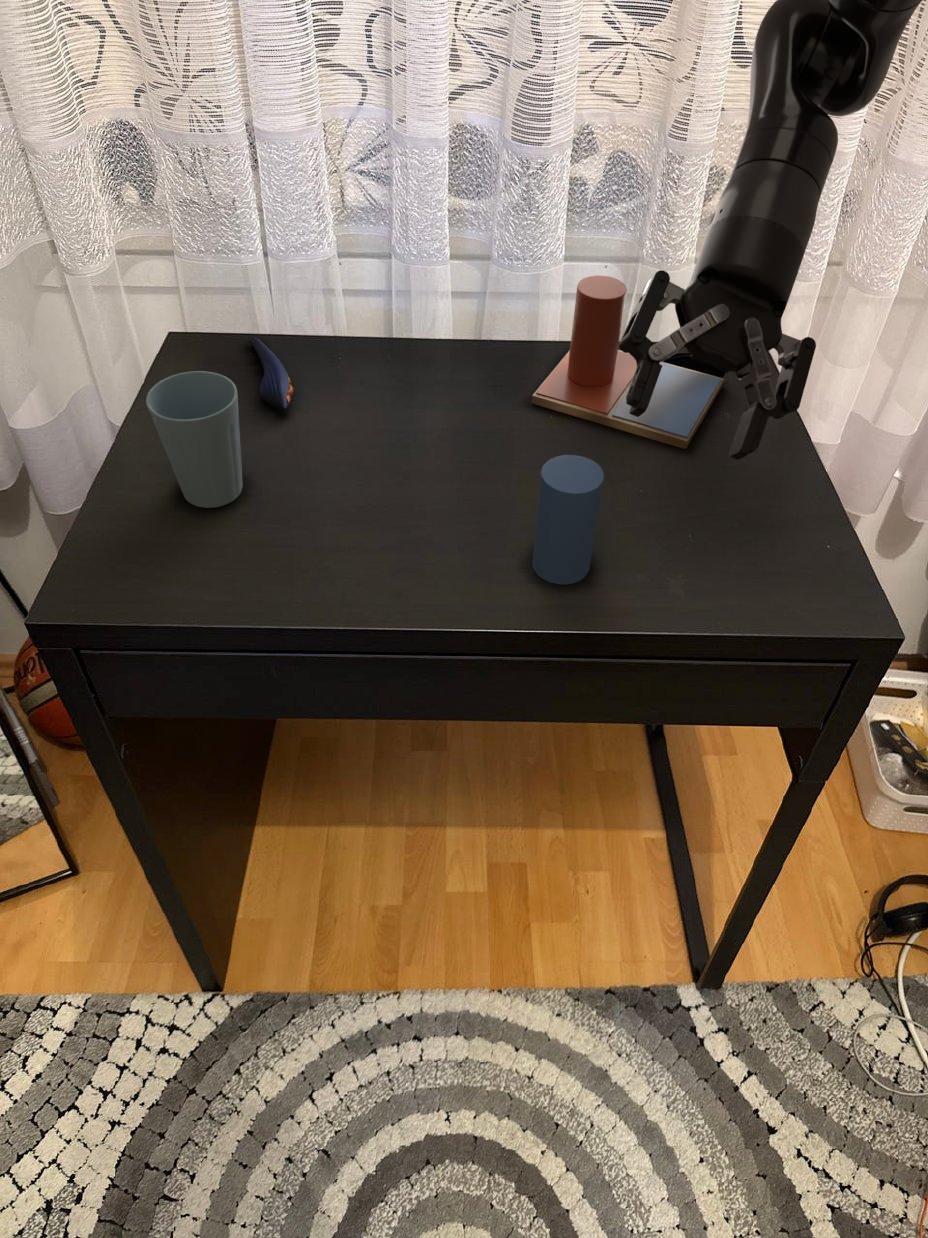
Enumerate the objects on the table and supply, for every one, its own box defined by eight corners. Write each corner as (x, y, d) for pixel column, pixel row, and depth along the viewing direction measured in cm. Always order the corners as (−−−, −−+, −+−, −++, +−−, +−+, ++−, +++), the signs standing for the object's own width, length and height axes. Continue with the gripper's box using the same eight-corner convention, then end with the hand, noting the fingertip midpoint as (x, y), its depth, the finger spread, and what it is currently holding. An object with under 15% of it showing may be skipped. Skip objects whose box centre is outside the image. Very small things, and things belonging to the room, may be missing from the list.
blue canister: (597, 556, 82) (613, 465, 75) (576, 592, 79) (590, 500, 72) (546, 539, 84) (556, 447, 76) (523, 572, 81) (531, 481, 73)
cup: (237, 455, 91) (218, 361, 84) (267, 499, 87) (250, 404, 79) (161, 479, 89) (134, 384, 81) (188, 526, 84) (163, 430, 76)
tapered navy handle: (244, 355, 106) (236, 336, 104) (273, 344, 106) (265, 325, 104) (272, 424, 95) (264, 404, 93) (304, 411, 95) (296, 392, 94)
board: (722, 386, 101) (724, 377, 101) (685, 449, 93) (687, 440, 93) (577, 346, 106) (578, 337, 106) (531, 403, 98) (532, 394, 98)
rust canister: (620, 369, 101) (634, 282, 94) (603, 391, 98) (616, 303, 91) (577, 357, 103) (588, 270, 95) (560, 379, 100) (569, 291, 92)
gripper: (693, 178, 67) (619, 384, 66) (864, 259, 69) (796, 460, 68) (655, 226, 74) (587, 411, 73) (810, 297, 76) (748, 479, 75)
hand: (688, 435), depth 70 cm, fingers open, 8 cm apart
